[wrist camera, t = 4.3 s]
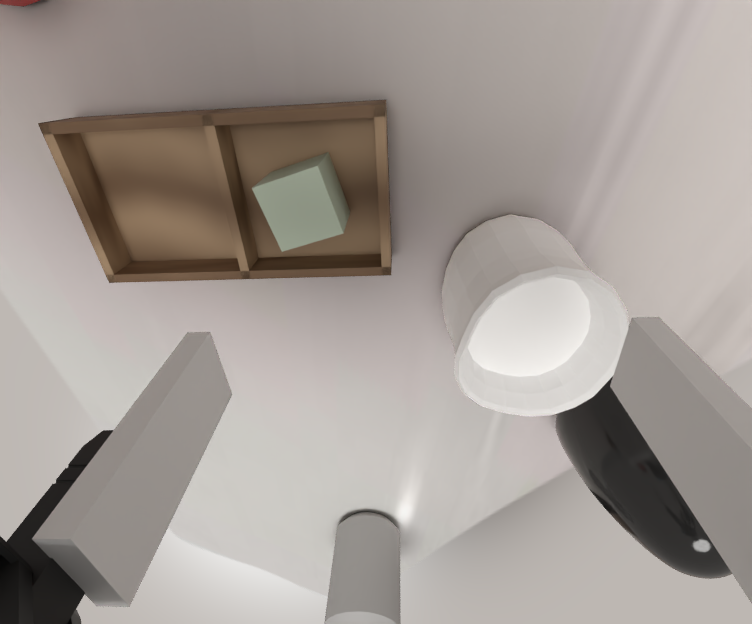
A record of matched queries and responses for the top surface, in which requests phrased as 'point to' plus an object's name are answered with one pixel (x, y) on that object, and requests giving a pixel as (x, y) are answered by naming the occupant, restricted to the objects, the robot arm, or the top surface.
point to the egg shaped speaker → (635, 485)
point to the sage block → (303, 202)
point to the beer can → (17, 2)
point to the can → (365, 572)
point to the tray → (222, 189)
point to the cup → (529, 319)
